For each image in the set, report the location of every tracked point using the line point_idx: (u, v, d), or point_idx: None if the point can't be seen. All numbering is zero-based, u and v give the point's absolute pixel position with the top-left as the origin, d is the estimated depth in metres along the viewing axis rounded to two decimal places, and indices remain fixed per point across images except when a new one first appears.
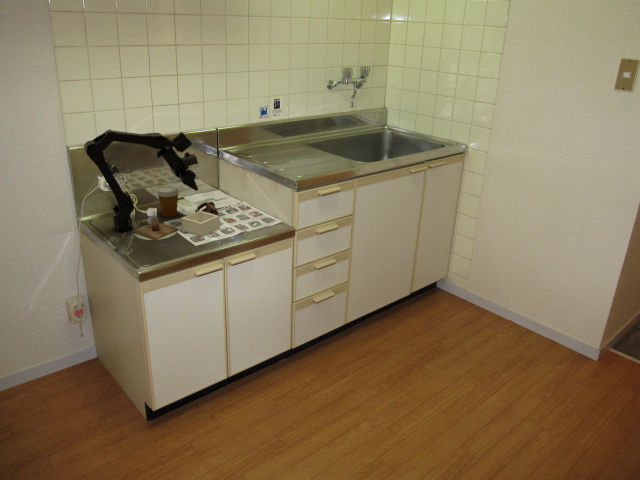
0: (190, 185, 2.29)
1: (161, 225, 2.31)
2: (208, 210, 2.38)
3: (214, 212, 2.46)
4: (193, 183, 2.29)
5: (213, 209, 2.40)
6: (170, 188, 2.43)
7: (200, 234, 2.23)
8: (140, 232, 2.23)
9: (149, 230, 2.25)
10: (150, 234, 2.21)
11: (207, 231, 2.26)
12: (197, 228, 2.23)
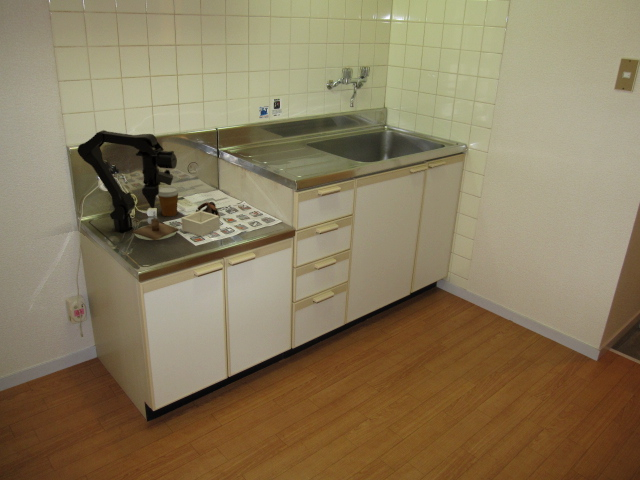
0: (148, 199, 2.14)
1: (161, 225, 2.31)
2: (209, 210, 2.38)
3: (215, 212, 2.46)
4: (152, 199, 2.15)
5: (214, 209, 2.40)
6: (170, 188, 2.43)
7: (200, 234, 2.23)
8: (140, 232, 2.23)
9: (149, 230, 2.25)
10: (150, 234, 2.21)
11: (207, 231, 2.26)
12: (197, 228, 2.23)
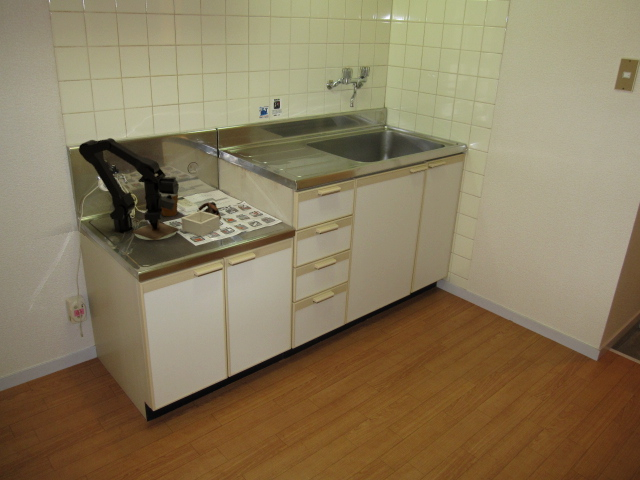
0: (151, 221, 2.21)
1: (161, 225, 2.31)
2: (210, 210, 2.38)
3: (216, 212, 2.45)
4: (155, 221, 2.22)
5: (215, 209, 2.40)
6: None
7: (200, 234, 2.23)
8: (140, 232, 2.23)
9: (149, 230, 2.25)
10: (150, 234, 2.21)
11: (207, 231, 2.26)
12: (197, 228, 2.23)
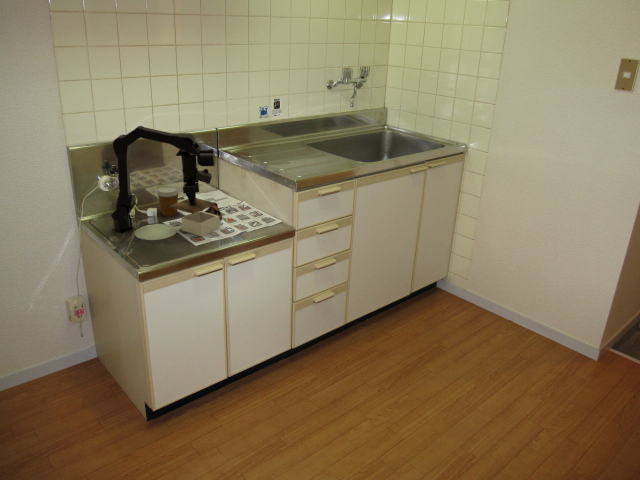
0: (188, 195, 2.20)
1: (197, 200, 2.30)
2: (211, 211, 2.38)
3: None
4: (192, 195, 2.21)
5: (216, 210, 2.39)
6: (170, 188, 2.43)
7: (200, 234, 2.23)
8: (177, 206, 2.22)
9: (186, 204, 2.24)
10: (188, 208, 2.20)
11: (207, 231, 2.26)
12: (197, 228, 2.23)
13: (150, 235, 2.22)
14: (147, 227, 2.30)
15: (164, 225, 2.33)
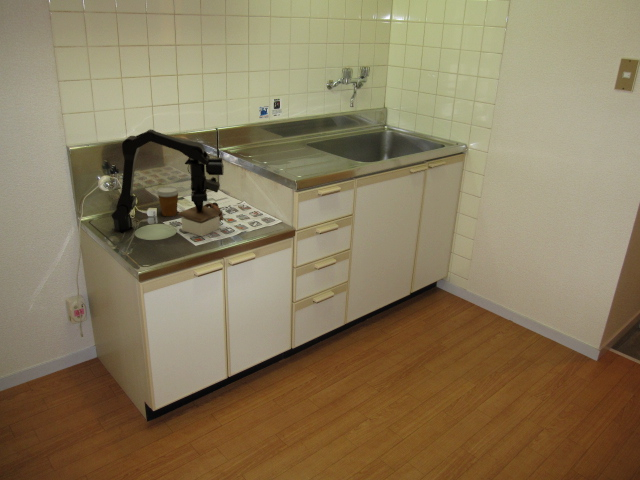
0: (196, 203, 2.22)
1: (204, 207, 2.32)
2: None
3: None
4: (200, 203, 2.23)
5: None
6: (170, 188, 2.43)
7: (200, 234, 2.23)
8: (185, 214, 2.24)
9: (193, 212, 2.26)
10: (195, 216, 2.23)
11: (207, 231, 2.26)
12: (197, 228, 2.23)
13: (150, 235, 2.22)
14: (147, 227, 2.30)
15: (164, 225, 2.33)
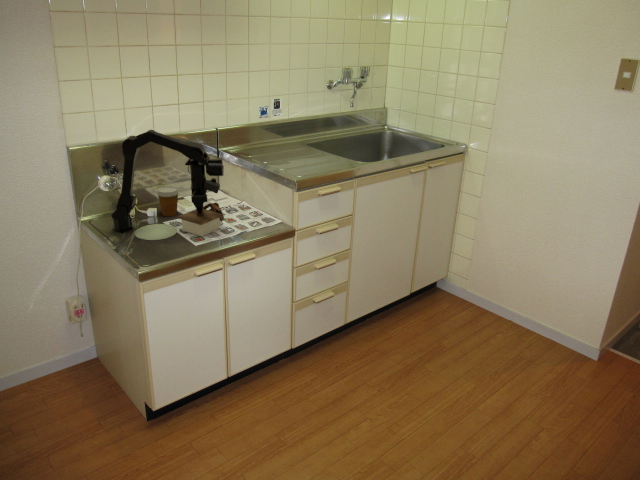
0: (196, 205, 2.21)
1: (205, 210, 2.32)
2: (213, 211, 2.37)
3: None
4: (200, 205, 2.22)
5: (218, 210, 2.39)
6: (170, 188, 2.43)
7: (200, 234, 2.23)
8: (185, 217, 2.25)
9: (194, 215, 2.27)
10: (195, 219, 2.23)
11: (207, 231, 2.26)
12: (197, 228, 2.23)
13: (150, 235, 2.22)
14: (147, 227, 2.30)
15: (164, 225, 2.33)
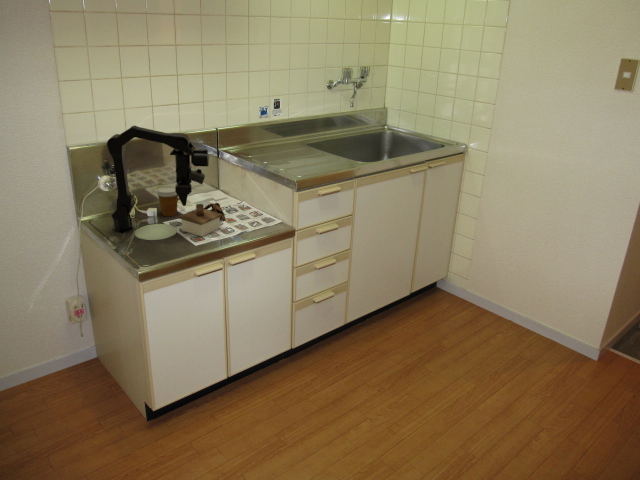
0: (180, 197, 2.18)
1: (205, 210, 2.32)
2: (214, 211, 2.37)
3: (220, 213, 2.45)
4: (184, 197, 2.19)
5: (219, 210, 2.39)
6: (170, 188, 2.43)
7: (200, 234, 2.23)
8: (185, 217, 2.25)
9: (194, 215, 2.27)
10: (195, 219, 2.23)
11: (207, 231, 2.26)
12: (197, 228, 2.23)
13: (150, 235, 2.22)
14: (147, 227, 2.30)
15: (164, 225, 2.33)
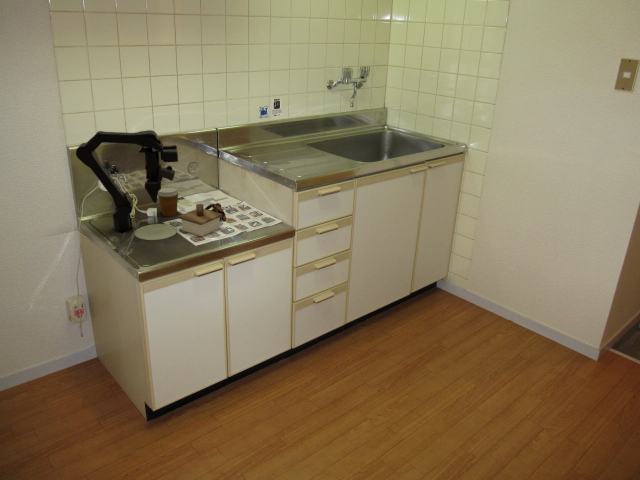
0: (151, 194, 2.19)
1: (205, 210, 2.32)
2: None
3: (221, 213, 2.44)
4: (155, 194, 2.19)
5: (220, 210, 2.39)
6: (170, 188, 2.43)
7: (200, 234, 2.23)
8: (185, 217, 2.25)
9: (194, 215, 2.27)
10: (195, 219, 2.23)
11: (207, 231, 2.26)
12: (197, 228, 2.23)
13: (150, 235, 2.22)
14: (147, 227, 2.30)
15: (164, 225, 2.33)
